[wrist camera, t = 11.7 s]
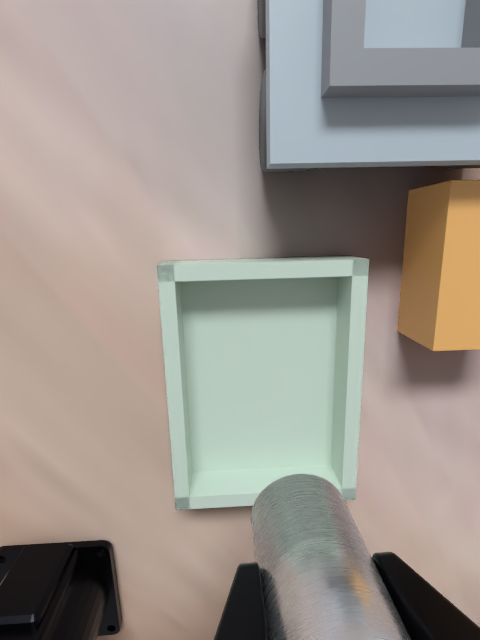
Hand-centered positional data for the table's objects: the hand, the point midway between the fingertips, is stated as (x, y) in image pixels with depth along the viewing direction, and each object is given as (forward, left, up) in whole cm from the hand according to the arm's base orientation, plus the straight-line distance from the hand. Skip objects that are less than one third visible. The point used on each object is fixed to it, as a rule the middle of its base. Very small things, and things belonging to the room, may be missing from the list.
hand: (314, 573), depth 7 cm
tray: (0, 0, -12) cm, 12 cm away
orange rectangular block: (+5, -9, -12) cm, 16 cm away
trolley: (+14, -5, -12) cm, 19 cm away
